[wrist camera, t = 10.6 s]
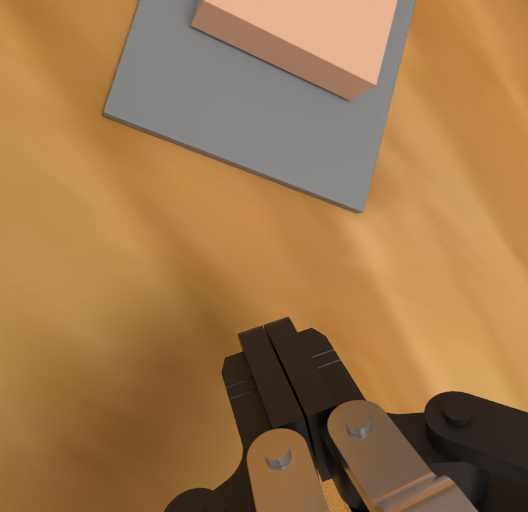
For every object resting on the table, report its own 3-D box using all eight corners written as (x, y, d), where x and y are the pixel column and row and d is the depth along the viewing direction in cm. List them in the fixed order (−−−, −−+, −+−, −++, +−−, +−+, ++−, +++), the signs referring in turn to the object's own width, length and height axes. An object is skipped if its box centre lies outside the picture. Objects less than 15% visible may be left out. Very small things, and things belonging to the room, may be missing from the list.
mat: (357, 213, 28) (363, 212, 27) (102, 116, 23) (103, 112, 22) (428, -72, 30) (434, -78, 29) (210, -214, 25) (213, -225, 25)
